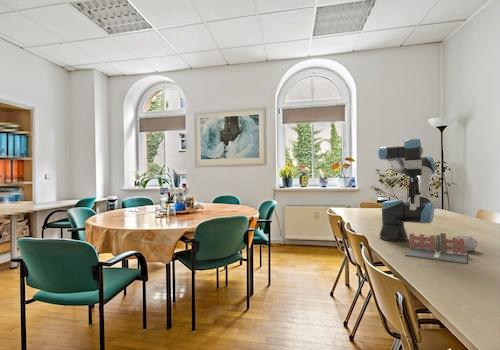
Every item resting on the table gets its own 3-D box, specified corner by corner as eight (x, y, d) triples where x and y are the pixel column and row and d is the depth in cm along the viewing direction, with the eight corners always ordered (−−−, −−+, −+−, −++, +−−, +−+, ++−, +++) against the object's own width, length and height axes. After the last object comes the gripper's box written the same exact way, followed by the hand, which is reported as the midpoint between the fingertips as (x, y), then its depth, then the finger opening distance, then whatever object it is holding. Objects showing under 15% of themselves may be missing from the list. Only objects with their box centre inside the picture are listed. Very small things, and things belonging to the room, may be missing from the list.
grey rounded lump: (479, 255, 129) (483, 237, 132) (461, 246, 131) (465, 228, 134) (466, 257, 137) (471, 240, 140) (449, 248, 138) (454, 231, 141)
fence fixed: (441, 252, 132) (440, 233, 132) (441, 251, 134) (440, 232, 134) (464, 254, 127) (463, 235, 127) (464, 253, 128) (463, 234, 128)
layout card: (412, 246, 146) (412, 245, 146) (467, 253, 131) (467, 251, 131) (405, 255, 130) (405, 254, 130) (466, 264, 116) (466, 262, 116)
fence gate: (440, 250, 134) (440, 235, 134) (440, 251, 132) (439, 235, 133) (410, 246, 142) (409, 232, 142) (409, 247, 141) (409, 233, 141)
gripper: (409, 168, 157) (410, 205, 157) (401, 169, 137) (402, 211, 137) (424, 167, 152) (425, 205, 152) (418, 168, 133) (420, 211, 133)
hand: (414, 208), depth 145 cm, fingers open, 13 cm apart
